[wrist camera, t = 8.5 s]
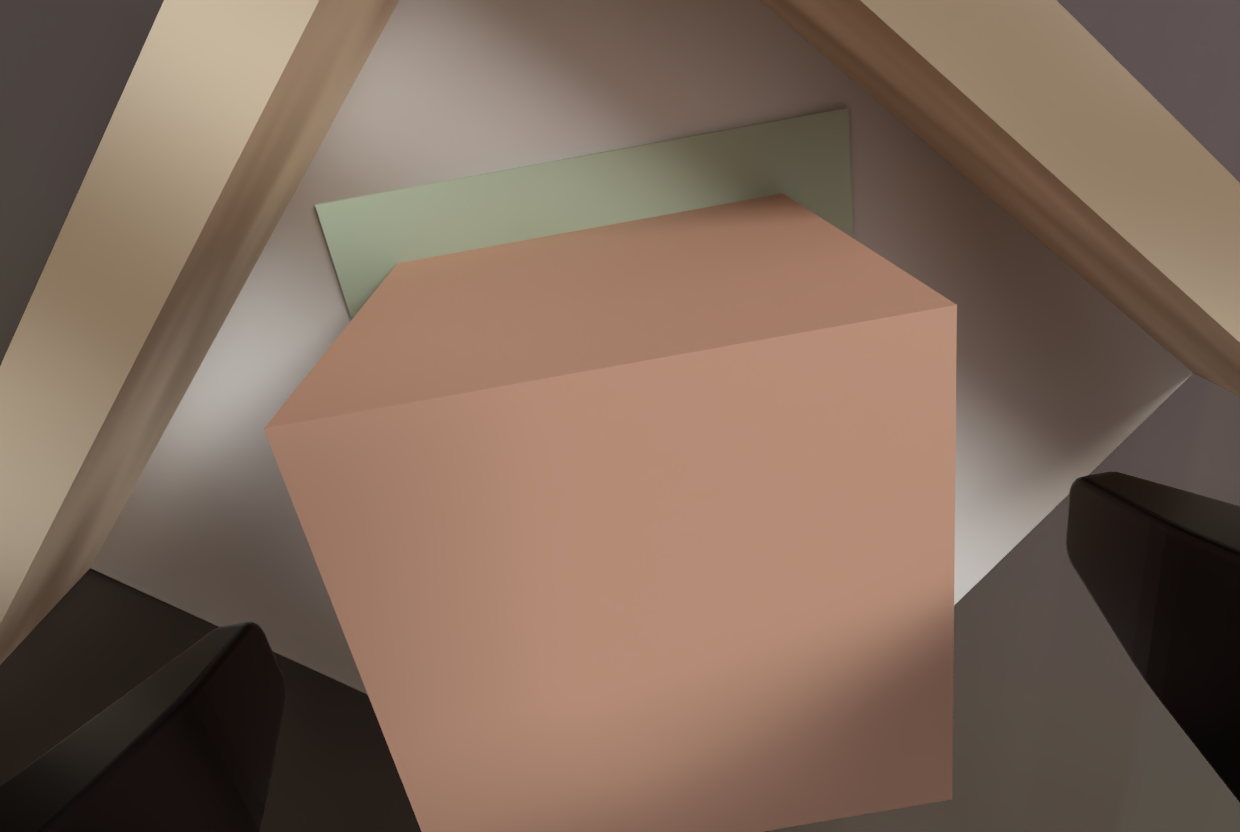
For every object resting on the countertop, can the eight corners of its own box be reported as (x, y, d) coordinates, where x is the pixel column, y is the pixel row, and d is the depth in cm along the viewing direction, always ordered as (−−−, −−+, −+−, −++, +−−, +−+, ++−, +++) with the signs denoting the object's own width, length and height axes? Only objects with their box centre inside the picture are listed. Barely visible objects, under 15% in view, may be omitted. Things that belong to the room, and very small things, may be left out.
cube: (810, 530, 15) (952, 807, 9) (489, 585, 15) (446, 894, 9) (783, 193, 12) (956, 304, 7) (397, 263, 12) (262, 428, 7)
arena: (701, 828, 19) (733, 1015, 15) (38, 521, 14) (-140, 678, 11) (1227, 309, 14) (1456, 398, 11) (486, -368, 10) (439, -614, 6)
